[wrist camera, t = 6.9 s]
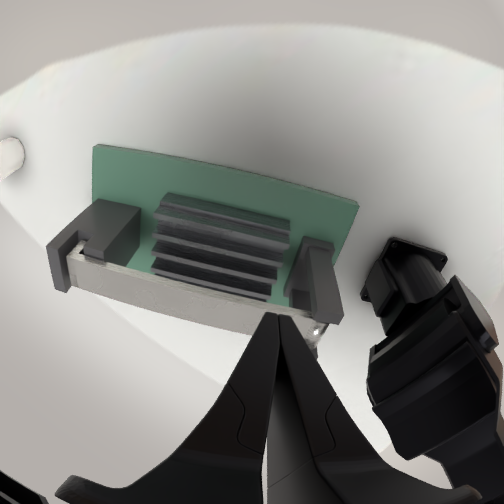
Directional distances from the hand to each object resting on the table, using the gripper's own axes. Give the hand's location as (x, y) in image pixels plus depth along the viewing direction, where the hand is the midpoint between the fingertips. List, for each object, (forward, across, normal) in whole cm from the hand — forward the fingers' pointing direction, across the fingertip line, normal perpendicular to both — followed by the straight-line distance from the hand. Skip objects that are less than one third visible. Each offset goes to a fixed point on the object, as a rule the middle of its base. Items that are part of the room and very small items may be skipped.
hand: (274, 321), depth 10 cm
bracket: (+13, -4, +6) cm, 15 cm away
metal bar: (+7, +4, +6) cm, 10 cm away
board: (+13, +4, +6) cm, 15 cm away
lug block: (+13, +12, +6) cm, 18 cm away
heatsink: (+13, +3, +6) cm, 15 cm away
